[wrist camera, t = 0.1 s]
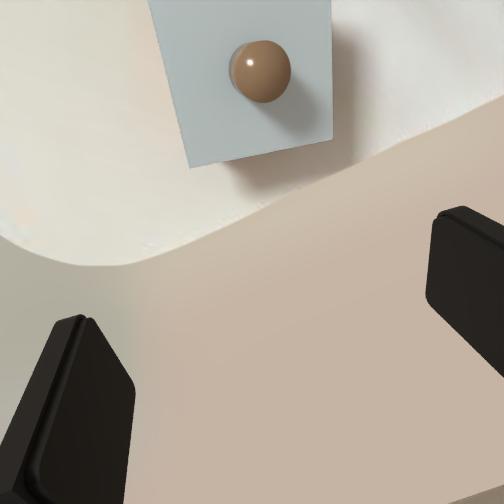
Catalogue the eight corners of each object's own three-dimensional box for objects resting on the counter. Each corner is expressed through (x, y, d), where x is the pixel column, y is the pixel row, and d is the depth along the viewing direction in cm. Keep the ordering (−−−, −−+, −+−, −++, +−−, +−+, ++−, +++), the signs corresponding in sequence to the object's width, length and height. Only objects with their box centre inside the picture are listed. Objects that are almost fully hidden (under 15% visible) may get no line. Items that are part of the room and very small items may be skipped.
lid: (143, -21, 25) (135, -39, 20) (323, -48, 26) (357, -71, 21) (189, 164, 32) (191, 184, 27) (327, 136, 33) (353, 150, 29)
